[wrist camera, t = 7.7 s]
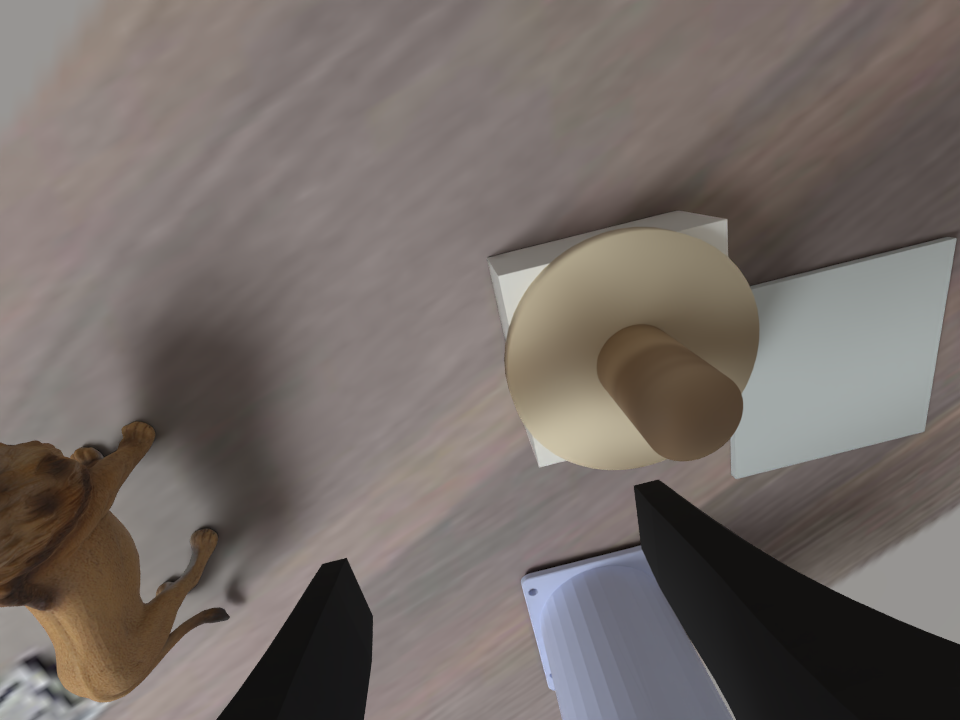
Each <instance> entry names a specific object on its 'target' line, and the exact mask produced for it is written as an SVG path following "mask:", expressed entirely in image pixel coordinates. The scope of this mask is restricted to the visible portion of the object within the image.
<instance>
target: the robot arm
mask: <svg viewBox="0 0 960 720" xmlns="http://www.w3.org/2000/svg"><path fill="white" fill-rule="evenodd" d="M634 492H635V500H636V508H637V516H638V524H639V533H640V541H641V545H640V546H636V547H632V548H629V549H625V550H621V551H617V552H613V553H609V554H605V555H601V556H597V557H593V558H589V559H585V560H581V561H577V562H573V563H569V564H565V565H561V566H557V567H553V568H549V569H545V570H541V571H537V572H533V573H529V574H527V575H525V576H524V577H523V578H522V579H521V584H522V588H523V592H524V596H525V600H526V603H527V607H528V611H529V615H530V618H531V622H532V626H533V630H534V634H535V637H536V641H537V645H538V649H539V653H540V656H541V660H542V664H543V668H544V671H545V675H546V679H547V683H548V687H549V688H550V689H551V690H555V691H556V695H557V699H558V704H559V708H560V712H561V716H562V720H733V718H732V716H731V715H730V713H729V711H728V709H727V707H726V705H725V704H724V702H723V700H722V698H721V697H720V695H719V693H718V691H717V689H716V687H715V685H714V684H713V682H712V680H711V678H710V676H709V675H708V673H707V671H706V669H705V667H704V665H703V664H702V662H701V660H700V658H699V656H698V654H697V653H696V651H695V649H694V647H693V645H692V644H691V642H690V640H689V638H690V639H691V641H692V643H693V644H694V646H695V648H696V649H697V651H698V653H699V654H700V656H701V658H702V659H703V661H704V663H705V664H706V666H707V668H708V669H709V671H710V672H711V674H712V676H713V677H714V679H715V680H716V683H717V684H718V686H719V688H720V690H721V692H722V693H723V695H724V697H725V699H726V701H727V702H728V704H729V706H730V708H731V710H732V712H733V714H734V716H735V718H736V720H960V644H957V643H955V642H952V641H949V640H947V639H944V638H942V637H939V636H936V635H934V634H931V633H928V632H926V631H924V630H921V629H919V628H916V627H914V626H912V625H909V624H907V623H904V622H902V621H899V620H897V619H895V618H892V617H890V616H888V615H886V614H884V613H881V612H879V611H877V610H875V609H872V608H870V607H868V606H866V605H864V604H861V603H859V602H856V601H854V600H852V599H850V598H848V597H846V596H844V595H842V594H840V593H838V592H836V591H834V590H832V589H830V588H828V587H826V586H824V585H822V584H820V583H818V582H816V581H814V580H812V579H810V578H809V577H807V576H805V575H803V574H801V573H799V572H797V571H795V570H794V569H792V568H790V567H788V566H787V565H785V564H783V563H781V562H780V561H778V560H776V559H775V558H773V557H771V556H770V555H768V554H766V553H765V552H763V551H761V550H760V549H758V548H756V547H755V546H753V545H752V544H750V543H748V542H747V541H745V540H744V539H742V538H741V537H739V536H738V535H736V534H735V533H733V532H732V531H730V530H729V529H727V528H726V527H724V526H723V525H721V524H720V523H718V522H717V521H715V520H714V519H712V518H711V517H709V516H708V515H706V514H705V513H704V512H702V511H701V510H699V509H698V508H697V507H695V506H694V505H693V504H691V503H690V502H688V501H687V500H686V499H684V498H683V497H682V496H680V495H679V494H678V493H676V492H675V491H674V490H672V489H671V488H669V487H668V486H667V485H665V484H664V483H663V482H661V481H659V480H655V481H651V482H647V483H643V484H639V485H635V486H634ZM530 589H533V590H530ZM679 621H680V622H679ZM682 626H683V627H682ZM683 628H684V629H683ZM684 630H685V631H686V633H687V634H688V636H689V638H688V636H687V634H686V633H685V631H684ZM372 638H373V615H372V613H371V611H370V609H369V607H368V604H367V602H366V600H365V598H364V595H363V593H362V591H361V589H360V587H359V584H358V582H357V580H356V578H355V575H354V573H353V571H352V569H351V567H350V564H349V562H348V560H347V558H345V559H341V560H337V561H333V562H329V563H325V564H322V565H321V567H320V569H319V570H318V572H317V573H316V575H315V576H314V578H313V579H312V581H311V582H310V584H309V586H308V587H307V589H306V590H305V592H304V594H303V595H302V597H301V598H300V600H299V602H298V603H297V605H296V606H295V608H294V609H293V611H292V613H291V614H290V616H289V617H288V619H287V620H286V622H285V623H284V625H283V627H282V628H281V630H280V631H279V633H278V634H277V636H276V637H275V639H274V640H273V642H272V643H271V645H270V646H269V648H268V649H267V651H266V652H265V654H264V655H263V657H262V658H261V659H260V661H259V662H258V664H257V665H256V667H255V668H254V669H253V671H252V672H251V674H250V675H249V676H248V678H247V679H246V681H245V682H244V684H243V685H242V686H241V688H240V689H239V691H238V692H237V693H236V695H235V696H234V697H233V699H232V700H231V701H230V703H229V704H228V705H227V707H226V708H225V709H224V710H223V712H222V713H221V714H220V716H219V717H218V718H217V719H216V720H364V714H365V707H366V700H367V693H368V686H369V678H370V671H371V663H372Z"/></svg>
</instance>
